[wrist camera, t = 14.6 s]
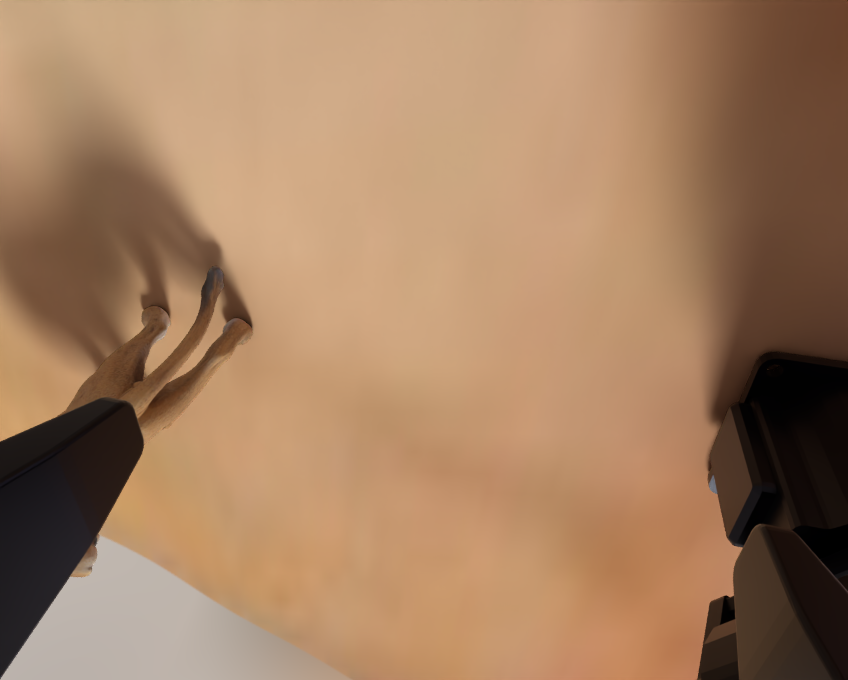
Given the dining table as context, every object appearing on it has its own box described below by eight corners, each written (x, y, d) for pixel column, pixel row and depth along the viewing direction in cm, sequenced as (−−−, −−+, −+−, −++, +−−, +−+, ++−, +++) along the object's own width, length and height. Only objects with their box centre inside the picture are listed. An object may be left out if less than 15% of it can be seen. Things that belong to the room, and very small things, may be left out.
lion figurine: (168, 478, 32) (44, 635, 25) (79, 423, 32) (-76, 569, 24) (279, 297, 24) (141, 455, 17) (162, 216, 23) (-37, 346, 16)
